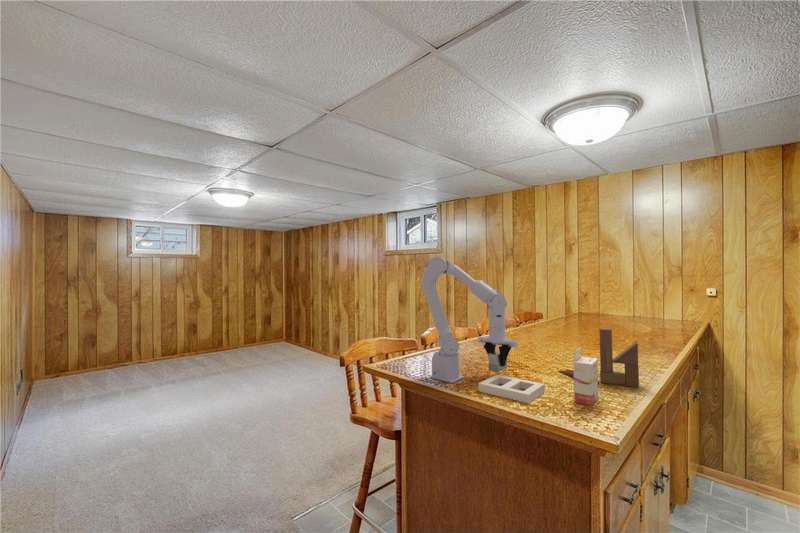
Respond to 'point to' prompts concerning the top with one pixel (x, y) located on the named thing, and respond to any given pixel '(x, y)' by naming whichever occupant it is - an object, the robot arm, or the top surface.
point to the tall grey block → (495, 362)
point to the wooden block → (626, 357)
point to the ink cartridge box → (585, 379)
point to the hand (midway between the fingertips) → (497, 364)
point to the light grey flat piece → (512, 388)
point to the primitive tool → (570, 373)
